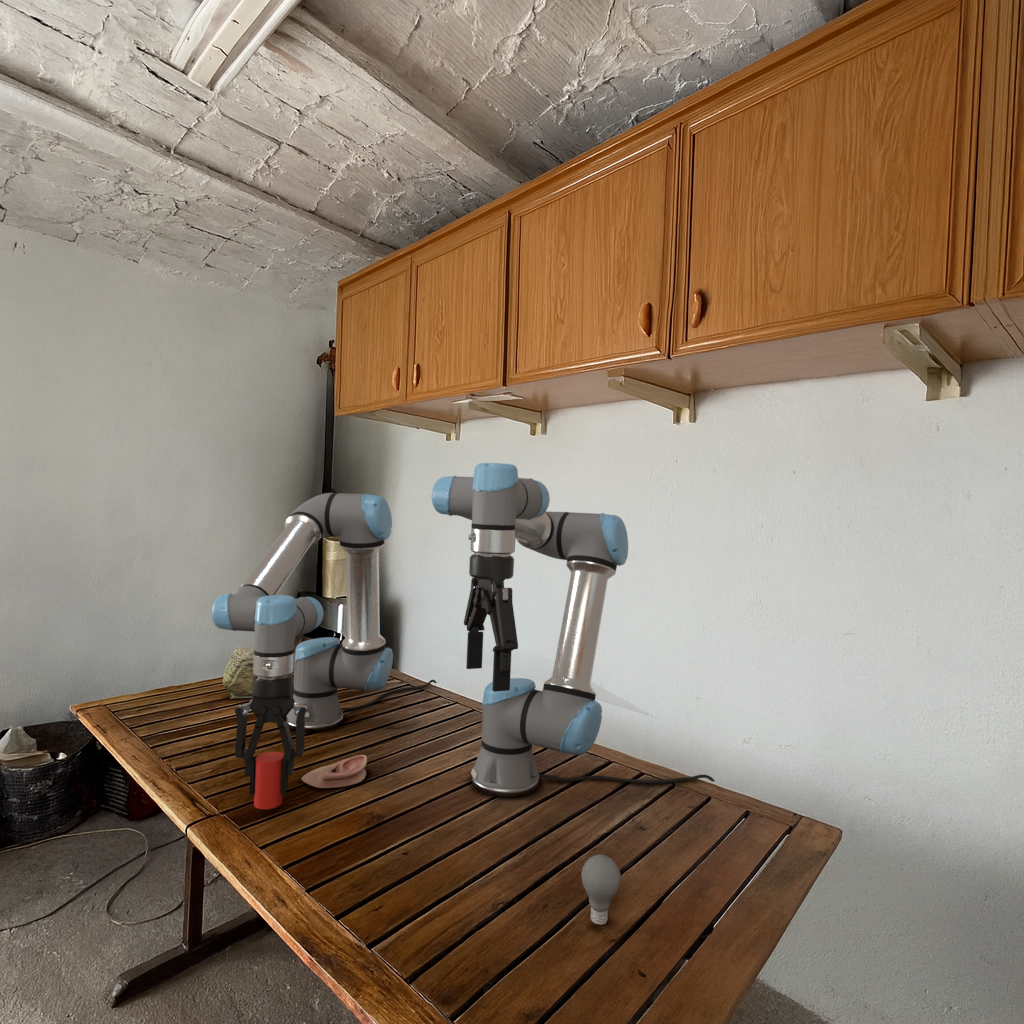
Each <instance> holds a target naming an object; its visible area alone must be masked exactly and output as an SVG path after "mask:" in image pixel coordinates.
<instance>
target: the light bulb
mask: <svg viewBox="0 0 1024 1024" xmlns="http://www.w3.org/2000/svg"><path fill="white" fill-rule="evenodd" d="M621 875H622V874H621V871H620V868H619V867H618V865H617V863H616V862H615V861H614V860H613V859H612V858H611V857H609V856H608V855H605V854H595V855H592V856H590V857H589V858H588V859H587V860H586V861H585V862H584V864H583V866H582V869H581V875H580V877H581V883H582V886H583V888H584V890H585V892H586V894H587V896H588V902H589V905H590V920H591V922H593V923H594V924H596V925H601V926H602V925H606V924H607V922H608V918H609V917H608V914H609V908H610V906H611V903H612V900H613V898H614V897H615V895H616V894H617V892H618V891H619V889H620V885H621V880H622V876H621Z"/></svg>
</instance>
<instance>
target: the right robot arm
mask: <svg viewBox="0 0 1024 1024" xmlns="http://www.w3.org/2000/svg"><path fill="white" fill-rule="evenodd" d="M517 468H518V467H517V466H516V465H515V464H513V463H502V462H501V463H499V462H481V463H477V464H476V465H475V466H474V470H473V476H457V475H452V476H442V477H439V478H438V479H437V480H436V481H435V483H434V484H433V487H432V490H431V491H432V492H431V502H432V505H433V509H434V510H435V511H436V512H437V513H438V514H440V515H445V516H449V517H452V516H457V517H462V518H465V519H467V520H469V521H471V525H470V526H471V530H470V534H468V536H467V537H468V538H467V539H468V540H470V551H471V552H472V553H473V554H471V555H470V556H469V567H468V568H469V569H468V574H469V576H470V577H472V578H471V580H470V591H469V595H468V599H467V605H466V610H465V615H464V618H463V619H464V620H463V625H464V626H465V627H466V631H467V644H466V665H465V668H466V670H475V669H477V670H478V669H483V651H484V631H486V629H485V625H484V624H485V621H486V619H487V616H489V620H490V624H491V628H492V632H493V637H494V642H495V645H494V647H493V648H492V652H493V662H492V663H493V664H492V665H493V666H492V667H493V668H492V681H491V682H490V683H488V684H487V685H486V686H485V687H484V690H483V696H482V697H483V698H482V702H481V705H482V717H481V740H480V741H481V743H480V749H479V752H478V755H477V758H476V760H475V763H474V766H473V767H472V769H471V772H470V774H471V784H472V786H473V788H475V789H476V790H477V791H478V792H481V793H483V794H486V795H488V796H492V797H499V798H516V797H517V798H518V797H523V796H526V795H529V794H531V793H533V792H534V791H536V790H537V789H538V787H539V781H540V779H539V778H544V779H549V780H556V781H561V782H579V781H585V780H606V781H614V782H622V783H632V784H633V783H634V784H652V785H653V784H655V785H656V784H671V783H677V782H686V781H694V780H697V779H707V780H709V781H710V782H713V783H714V782H716V780H715V779H714V778H713V777H712V776H710V775H708V774H697V775H694V776H693V775H692V776H686V777H677V778H669V779H636V778H635V779H631V778H621V777H613V776H608V775H607V776H606V775H586V776H584V775H583V776H577V777H562V776H555V775H550V774H545V773H539V770H538V767H537V763H536V760H535V756H534V751H533V746H536V747H540V748H542V749H547V750H552V751H556V752H560V754H565V755H567V754H568V755H573V756H583V755H585V754H586V753H588V752H589V751H590V750H591V748H592V746H594V743H595V742H596V739H597V737H598V734H599V732H600V729H601V724H602V719H603V715H602V713H603V708H602V705H601V703H600V702H598V701H597V700H596V697H597V692H596V691H595V689H594V688H593V686H592V677H593V671H594V666H595V659H596V653H597V647H598V642H599V635H600V629H601V623H602V618H603V611H604V605H605V600H606V599H605V598H606V592H607V588H608V581H609V579H611V578H612V577H614V576H615V575H616V573H617V568H618V567H620V566H623V565H625V564H626V562H627V560H628V556H629V537H628V532H627V527H626V524H625V522H624V521H623V519H622V518H621V517H620V516H618V515H617V514H609V513H608V514H607V513H604V512H600V513H591V512H574V511H573V512H572V511H571V512H569V511H547V510H548V508H549V505H550V501H551V497H550V492H549V490H548V488H547V487H546V485H545V484H544V483H543V482H541V481H539V480H537V479H534V478H530V477H529V478H525V477H519V470H518V469H517ZM516 541H517V543H518V544H519V545H520V546H522V547H524V548H526V549H529V550H531V551H533V552H536V553H538V554H540V555H543V556H546V557H548V558H553V559H556V560H563V561H566V564H565V566H566V567H567V568H568V570H569V572H570V579H569V583H568V590H567V594H566V600H565V605H564V611H563V616H562V621H561V627H560V633H559V638H558V643H557V649H556V655H555V660H554V665H553V670H552V675H551V676H550V678H548V679H546V680H545V681H544V682H543V686H542V690H538V689H536V687H537V686H536V682H535V681H534V680H532V679H530V678H525V677H524V678H523V677H511V673H512V672H511V671H512V669H511V668H512V652H513V651H514V650H518V649H519V642H518V635H517V634H518V633H517V625H516V618H515V611H514V604H513V588H512V587H505V580H510V579H513V577H514V569H515V568H514V567H515V557H514V556H512V554H514V553H515V552H516Z"/></svg>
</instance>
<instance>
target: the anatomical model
mask: <svg viewBox="0 0 1024 1024" xmlns="http://www.w3.org/2000/svg"><path fill="white" fill-rule="evenodd" d="M367 763H368V757H367V755H365V754H359V755H354V756H351V757H347V758H345V759H342V760H340V761H337V762H334V763H331V764H328V765H325V766H324V765H323V766H321V767H318V768H315V769H313V770H311V771H309V772H307V773H306V774H304V775H302V777H301V781H302V782H303V783H305V784H307V785H308V786H311V787H314V788H317V789H332V788H343V787H347V786H353V785H356V784H359V783H361V782H363V780H365V778H366V776H367V770H366V769H365V768H366V766H367Z"/></svg>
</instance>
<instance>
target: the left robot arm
mask: <svg viewBox="0 0 1024 1024" xmlns="http://www.w3.org/2000/svg"><path fill="white" fill-rule="evenodd" d="M283 526H284V527H283V528H284V529H283V530H282V531H281V533H280V535H279V536H278V537H277V539H276V540H275V541H274V542H273V544H272V545H271V546H270V547H269V549H268V550H267V551H266V553H265V554H264V555H263V557H262V558H261V559H260V560H259V562H258V563H257V565H256V566H255V567H254V569H252V571H251V573H250V574H249V575H248V576H247V578H246V579H245V580H244V582H243V583H242V584H241V586H240V587H239V588H238V589H237V590H236V592H235V593H227V594H225V593H224V594H221V595H219V596H217V598H216V599H215V600H214V601H213V604H212V607H211V619H212V621H213V624H214V626H215V627H217V628H218V629H222V630H228V631H232V632H236V631H237V632H238V631H239V632H253V633H254V642H253V646H254V647H253V649H254V659H253V674H255V676H254V677H253V684H252V698H250V701H249V702H248V703H247V702H246V703H240V704H238V706H237V707H236V708H235V709H234V713H235V716H236V720H237V721H236V734H235V735H236V736H235V750H234V751H235V752H234V757H235V758H237V759H243V760H244V776H245V777H249V785H248V787H249V790H248V795H250V796H254V791H255V765H256V757H257V756H258V755H255V754H256V749H257V746H258V743H259V740H260V737H261V734H262V731H263V728H264V725H265V724H268V723H273V724H276V726H277V729H278V730H279V735H280V739H281V743H282V747H283V751H284V759H283V761H282V779H281V794H283V795H286V793H287V791H288V789H289V776H290V777H291V776H292V775H293V773H294V771H295V759H296V758H301V757H302V756H303V754H304V752H305V741H306V740H305V737H306V736H305V735H306V733H316V732H325V731H329V730H332V729H335V728H337V727H339V726H340V725H342V723H343V722H344V713H343V711H353V710H357V709H358V710H359V709H362V708H366V707H368V706H371V705H373V704H376V702H379V700H380V699H381V698H383V697H386V696H388V695H390V694H394V693H399V692H403V691H409V690H418V689H423V688H426V687H428V686H429V685H430V684H432V683H434V684H437V683H438V682H437V681H436V680H435V679H431V680H429V681H428V682H427V683H425V684H423V685H417V686H416V685H415V686H408V687H402V688H396V689H393V690H389V691H387V692H384V693H382V694H380V695H378V696H377V698H375V699H373V700H371V701H369V702H366V703H364V704H360V705H356V706H350V707H342V706H341V702H340V699H339V695H338V689H346V690H357V691H364V692H368V691H370V692H371V691H373V692H374V691H375V692H377V691H381V690H382V689H383V688H384V687H385V685H386V684H387V682H388V681H389V678H390V675H391V671H392V668H393V664H394V663H393V662H394V652H393V650H392V648H390V647H386V639H385V637H383V636H382V635H381V632H380V631H381V630H380V625H381V624H380V621H381V620H380V557H379V556H380V553H379V552H380V550H381V549H382V548H383V547H384V546H385V541H386V540H388V539H389V538H390V536H391V534H392V527H393V517H392V512H391V507H390V506H389V503H388V501H387V500H386V499H385V498H384V497H383V496H381V495H377V494H376V495H375V494H370V493H344V492H343V493H340V492H339V493H337V492H326V493H321V494H319V495H318V494H317V495H315V496H314V497H311V498H309V499H308V500H306V501H305V502H303V503H302V504H300V505H299V506H298V507H296V508H295V509H294V510H293V511H292V512H291V513H290V514H289V516H288V517H287V518H286V519H285V521H284V525H283ZM327 537H331V538H339V547H340V548H341V549H342V550H344V552H345V579H346V580H345V581H346V585H345V586H346V624H347V625H346V630H347V632H346V633H347V634H346V635H347V636H346V637H345V638H344V639H343V640H342V641H340V639H339V638H338V637H334V636H325V637H317V638H312V639H307V640H304V641H302V642H299V643H298V644H297V645H296V647H295V641H296V638H297V637H300V636H302V635H305V634H308V633H311V632H313V631H314V630H315V629H316V628H318V627H319V626H320V625H321V624H322V622H323V620H324V613H325V612H324V608H323V606H322V604H321V603H320V601H319V600H317V599H316V598H315V597H311V596H300V597H297V598H295V597H294V596H292V595H288V594H279V592H280V591H281V590H282V588H283V587H284V585H285V584H286V582H287V581H288V579H289V578H290V576H291V575H292V573H293V572H294V570H296V568H297V567H298V565H299V563H300V562H301V561H302V559H303V557H304V556H305V554H306V553H307V551H308V550H309V549H310V547H311V546H314V545H316V544H318V542H319V541H320V540H321V539H322V538H327ZM292 673H293V674H292ZM250 710H251V712H252V713H253V715H254V716H255V717H256V720H255V723H254V728H253V731H252V734H251V737H250V740H249V743H248V746H247V749H246V742H247V726H248V715H249V713H250ZM291 731H294V732H295V746H294V743H293V738H292V735H291Z"/></svg>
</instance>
